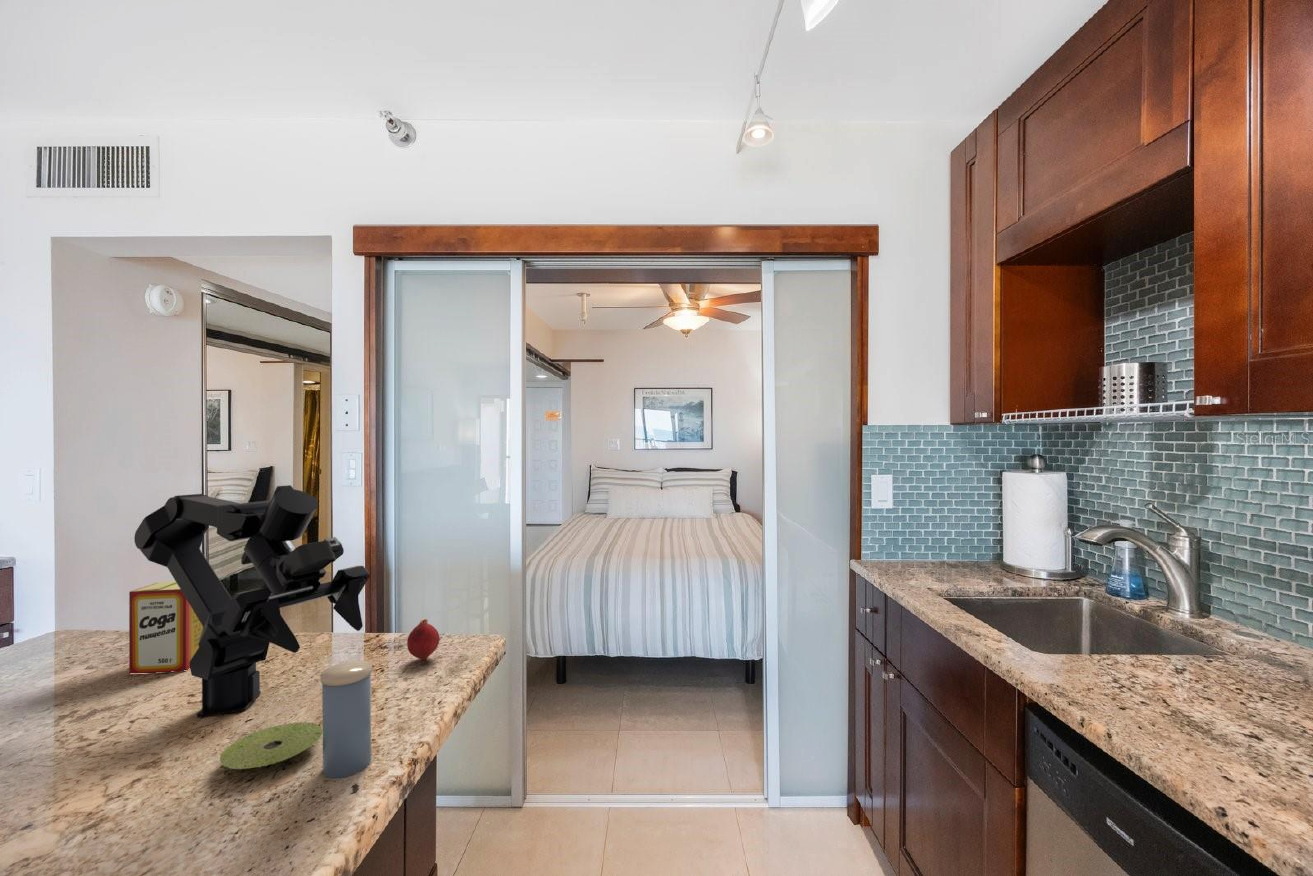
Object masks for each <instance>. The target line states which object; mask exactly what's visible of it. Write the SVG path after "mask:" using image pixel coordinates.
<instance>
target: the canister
mask: <svg viewBox="0 0 1313 876" xmlns="http://www.w3.org/2000/svg"><path fill="white" fill-rule="evenodd" d="M372 665H373V664H372V663H371V662H369V661H366V660H365V661H364V660H355V661H354V660H353V661H347V662H342V663H339V664H335V665H333V666H330V667H328V668H326V669H325V670H323V671H322V672H321V674H320V684H321V686H322V687H321V688H322V690H321V691H322V692H321V693H322V695H321V696H322V697H321V698H322V705H321V706H322V711H321V712H322V774H323V777H326V778H329V779H342V778H347V777H349V776H352V775H355V774H357V773H359V772H362V771H363V770H365V768H367V767H368V766H369V765H370V763H371V762H372V704H371V703H372V701H371V700H372V699H371V697H372V695H371V694H372V693H371V691H372V690H371V689H372V687H371V686H372V685H371V684H372V683H371V682H372V681H371V679H372V678H371V674H372V673H373V667H372ZM367 765H368V766H367ZM362 769H363V770H362Z"/></svg>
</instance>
